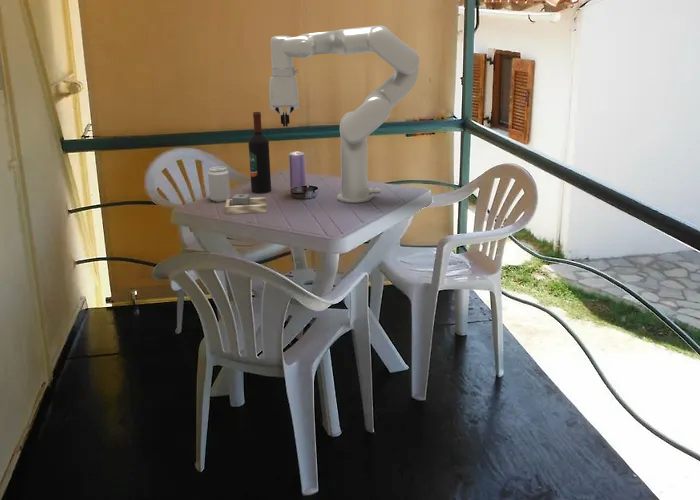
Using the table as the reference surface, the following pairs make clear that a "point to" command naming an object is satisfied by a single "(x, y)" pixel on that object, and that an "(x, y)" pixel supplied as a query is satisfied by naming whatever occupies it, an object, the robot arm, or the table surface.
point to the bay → (247, 206)
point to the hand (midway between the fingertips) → (285, 125)
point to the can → (219, 184)
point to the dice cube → (241, 199)
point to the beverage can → (297, 169)
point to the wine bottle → (259, 158)
